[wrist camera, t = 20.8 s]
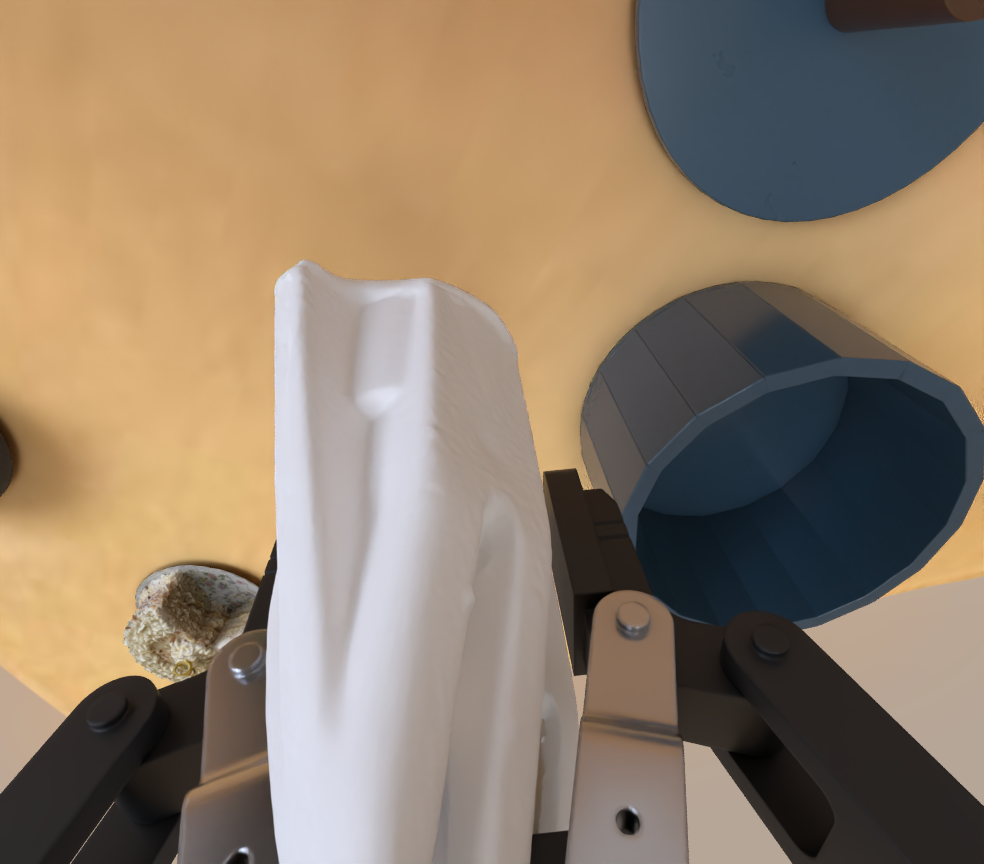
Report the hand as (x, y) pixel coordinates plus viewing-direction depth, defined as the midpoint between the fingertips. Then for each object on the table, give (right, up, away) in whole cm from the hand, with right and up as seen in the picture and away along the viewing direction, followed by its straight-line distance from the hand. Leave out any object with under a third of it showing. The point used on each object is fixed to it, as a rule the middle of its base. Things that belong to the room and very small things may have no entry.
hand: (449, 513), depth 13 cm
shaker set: (0, +1, +2) cm, 3 cm away
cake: (-19, -11, +28) cm, 35 cm away
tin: (+14, +3, +21) cm, 26 cm away
